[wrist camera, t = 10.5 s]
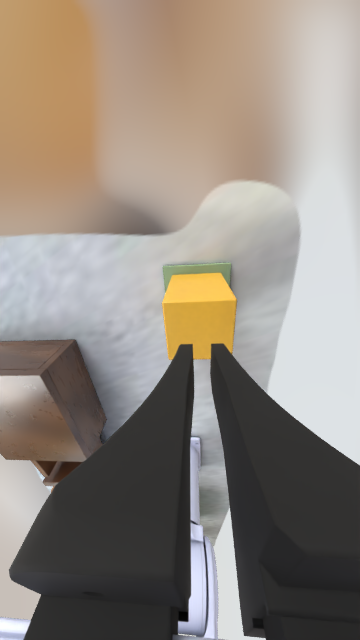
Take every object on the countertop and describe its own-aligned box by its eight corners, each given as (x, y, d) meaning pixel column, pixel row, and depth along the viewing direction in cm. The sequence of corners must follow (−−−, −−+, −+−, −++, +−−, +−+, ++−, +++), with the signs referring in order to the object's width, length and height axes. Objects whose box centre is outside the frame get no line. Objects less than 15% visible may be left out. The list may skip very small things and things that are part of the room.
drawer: (121, 473, 34) (113, 501, 30) (69, 472, 35) (56, 498, 31) (93, 408, 25) (78, 436, 22) (25, 408, 26) (1, 435, 23)
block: (219, 316, 18) (232, 359, 13) (175, 318, 19) (168, 360, 13) (221, 272, 16) (237, 299, 11) (171, 274, 17) (161, 302, 11)
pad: (226, 322, 19) (227, 324, 19) (169, 323, 20) (168, 325, 19) (230, 262, 16) (231, 263, 16) (163, 266, 17) (162, 267, 16)
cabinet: (106, 419, 28) (88, 462, 23) (37, 419, 29) (5, 459, 24) (75, 339, 21) (40, 375, 16) (-14, 341, 22) (-74, 376, 17)
